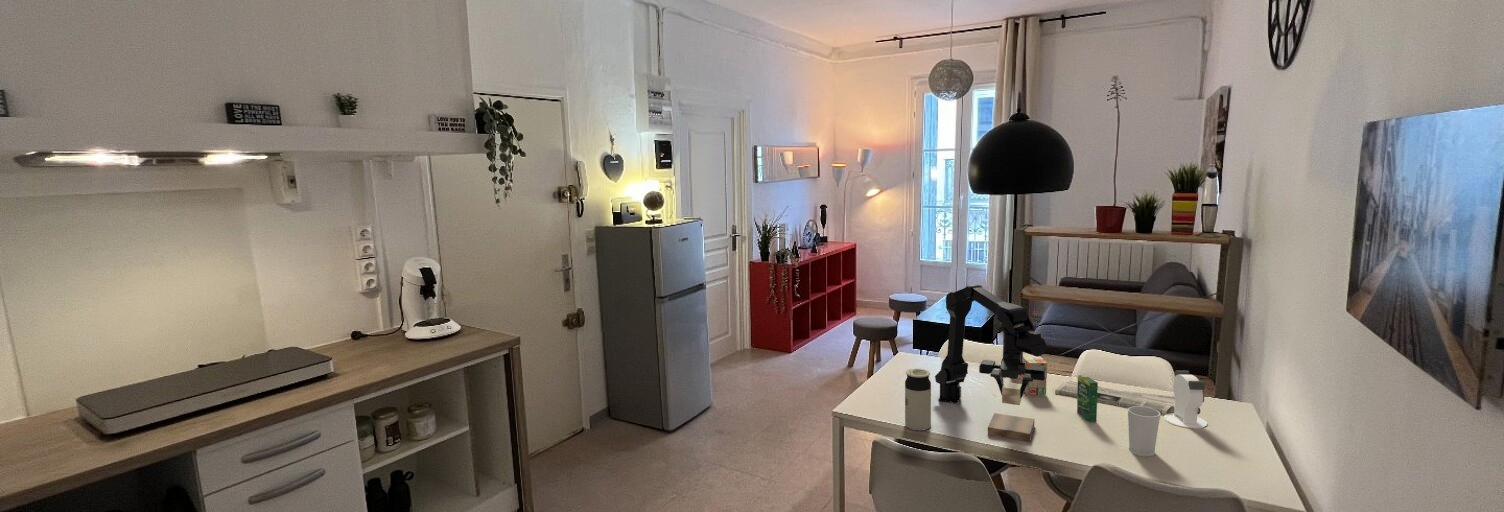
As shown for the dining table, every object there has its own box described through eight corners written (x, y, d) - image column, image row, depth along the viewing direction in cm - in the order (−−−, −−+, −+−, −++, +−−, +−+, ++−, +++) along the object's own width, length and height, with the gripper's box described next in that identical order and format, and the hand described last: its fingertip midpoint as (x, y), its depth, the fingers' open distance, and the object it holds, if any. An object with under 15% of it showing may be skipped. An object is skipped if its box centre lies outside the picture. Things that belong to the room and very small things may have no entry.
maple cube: (1001, 402, 203) (1002, 387, 202) (1004, 397, 207) (1004, 382, 206) (1019, 405, 200) (1019, 389, 200) (1021, 399, 205) (1021, 384, 204)
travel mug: (931, 422, 214) (931, 369, 211) (929, 432, 206) (929, 377, 204) (906, 420, 216) (906, 367, 214) (903, 429, 209) (903, 375, 206)
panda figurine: (1215, 430, 200) (1218, 382, 198) (1174, 428, 202) (1177, 381, 200) (1196, 414, 212) (1199, 369, 209) (1157, 413, 214) (1160, 369, 211)
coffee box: (1075, 412, 217) (1077, 374, 215) (1084, 412, 217) (1085, 374, 215) (1087, 422, 209) (1089, 383, 207) (1096, 422, 209) (1098, 382, 207)
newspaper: (1054, 394, 234) (1055, 385, 233) (1065, 384, 243) (1065, 375, 243) (1171, 417, 211) (1171, 407, 210) (1177, 405, 220) (1178, 395, 220)
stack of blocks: (1008, 375, 254) (1008, 344, 252) (1024, 375, 254) (1025, 344, 252) (1028, 396, 233) (1029, 362, 231) (1046, 395, 233) (1047, 362, 231)
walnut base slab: (987, 434, 203) (987, 427, 202) (994, 420, 213) (994, 413, 213) (1029, 441, 197) (1029, 433, 197) (1034, 426, 207) (1034, 419, 207)
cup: (1119, 446, 192) (1121, 407, 190) (1145, 444, 192) (1147, 405, 191) (1137, 458, 184) (1139, 417, 182) (1164, 456, 185) (1167, 415, 183)
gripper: (976, 351, 199) (975, 401, 201) (1043, 358, 190) (1042, 410, 192) (982, 341, 208) (982, 389, 211) (1047, 348, 199) (1045, 397, 202)
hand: (1011, 396), depth 203 cm, fingers closed on maple cube, 5 cm apart
